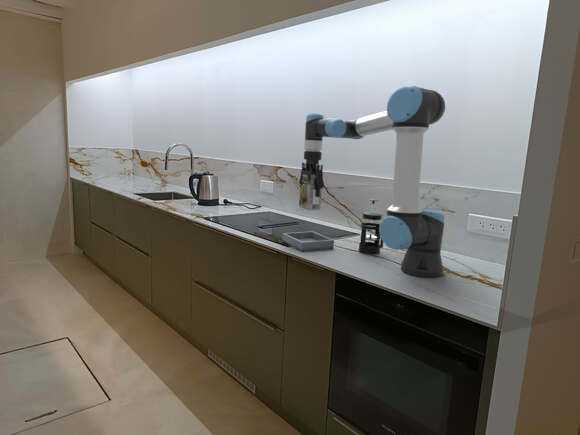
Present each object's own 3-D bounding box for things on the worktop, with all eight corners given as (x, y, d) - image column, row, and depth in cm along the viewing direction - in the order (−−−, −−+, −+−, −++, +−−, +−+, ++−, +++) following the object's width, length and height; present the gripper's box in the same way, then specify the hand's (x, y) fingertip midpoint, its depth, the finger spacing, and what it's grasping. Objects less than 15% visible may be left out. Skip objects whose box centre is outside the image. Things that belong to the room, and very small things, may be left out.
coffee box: (298, 207, 183) (300, 170, 180) (311, 206, 186) (313, 171, 183) (307, 210, 175) (310, 172, 172) (320, 210, 177) (323, 172, 175)
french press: (352, 250, 179) (356, 198, 174) (366, 247, 185) (370, 197, 181) (374, 256, 170) (379, 201, 166) (387, 253, 176) (392, 200, 172)
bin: (333, 248, 179) (334, 240, 178) (301, 251, 172) (302, 242, 171) (312, 239, 195) (312, 231, 194) (282, 241, 187) (282, 233, 186)
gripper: (334, 152, 168) (330, 206, 172) (307, 150, 187) (304, 198, 191) (318, 151, 164) (315, 206, 168) (293, 149, 183) (290, 199, 187)
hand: (309, 202), depth 180 cm, fingers closed on coffee box, 9 cm apart
